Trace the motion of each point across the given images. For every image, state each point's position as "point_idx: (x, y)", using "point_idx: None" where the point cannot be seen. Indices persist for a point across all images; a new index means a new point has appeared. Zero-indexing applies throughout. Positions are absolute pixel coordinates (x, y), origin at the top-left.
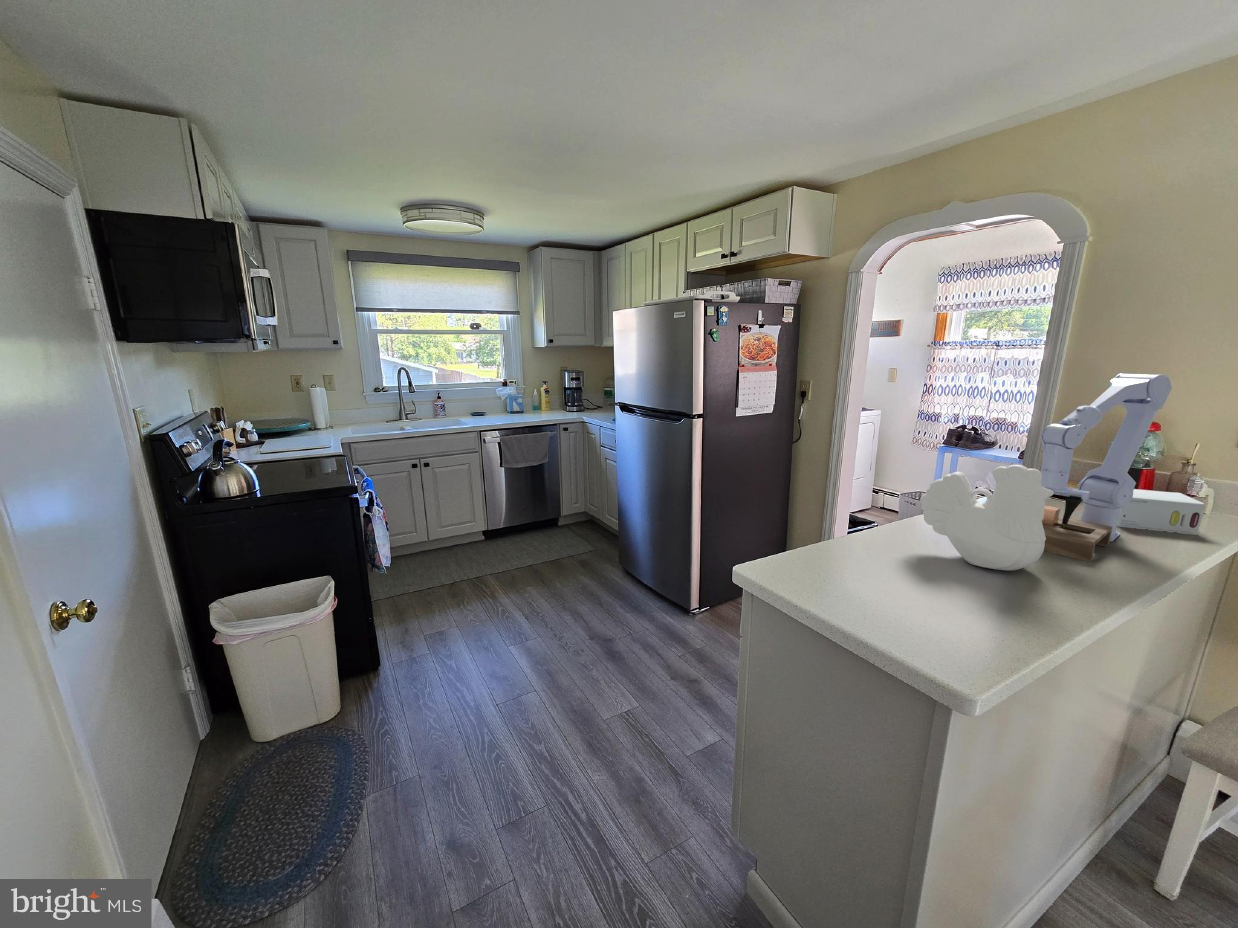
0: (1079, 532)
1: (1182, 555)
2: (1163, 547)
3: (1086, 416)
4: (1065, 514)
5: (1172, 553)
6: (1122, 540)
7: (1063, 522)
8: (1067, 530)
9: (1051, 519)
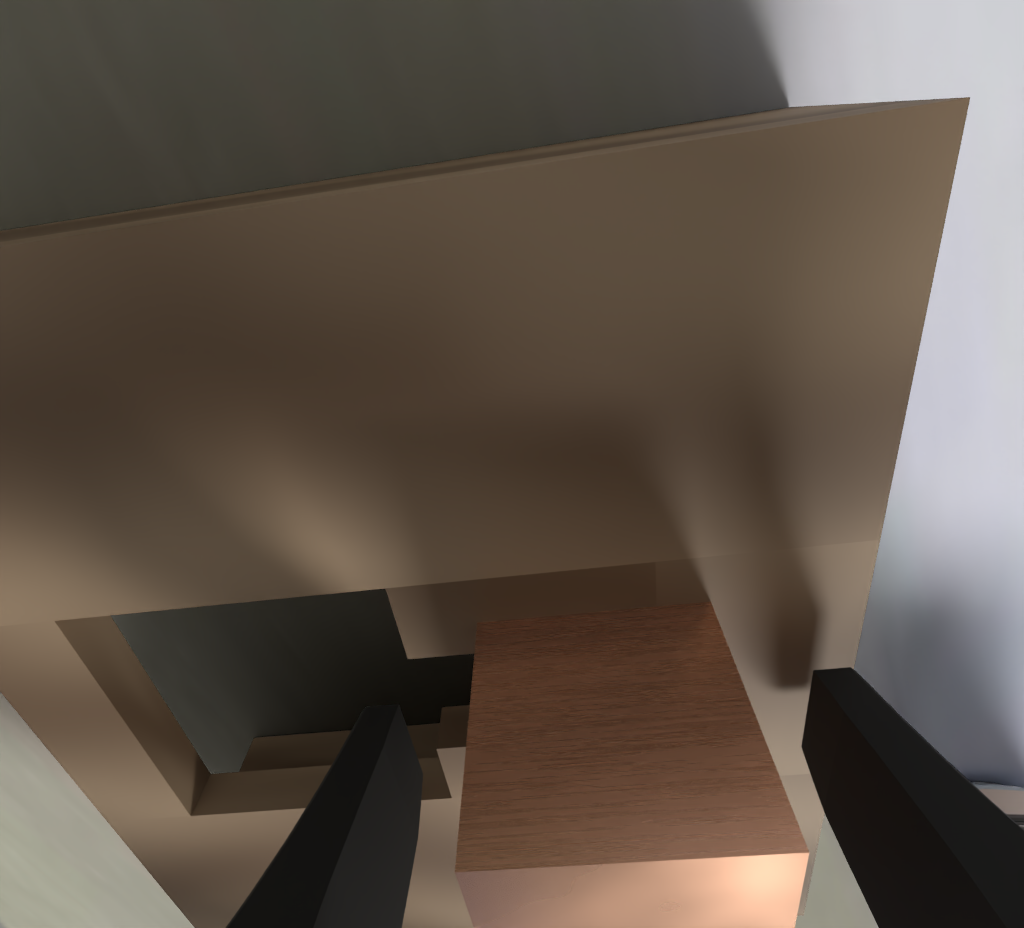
0: (150, 603)
1: (24, 870)
2: (151, 911)
3: None
4: (316, 856)
5: (61, 866)
6: None
7: (377, 723)
8: (264, 569)
9: (502, 694)
